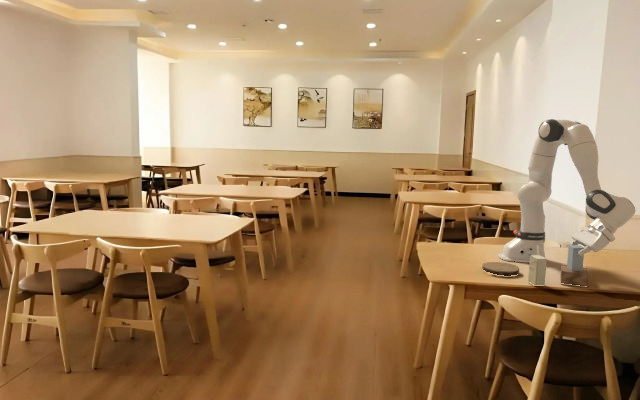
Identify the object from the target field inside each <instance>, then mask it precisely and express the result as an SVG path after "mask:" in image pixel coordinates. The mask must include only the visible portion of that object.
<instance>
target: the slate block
mask: <svg viewBox="0 0 640 400" xmlns="http://www.w3.org/2000/svg"><path fill="white" fill-rule="evenodd" d="M584 248H585V246H583V245H581V244H578V245H571V244H569V245H568V249H567V262H566V264H567V265H566V266H567V268H568V269H569V270H571V271H583V268H584V257H585V256H584V255H585V254H584V255H582V256H580V255H579V254H578V253H577V252H578V251H579V250H582V249H584Z"/></svg>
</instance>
